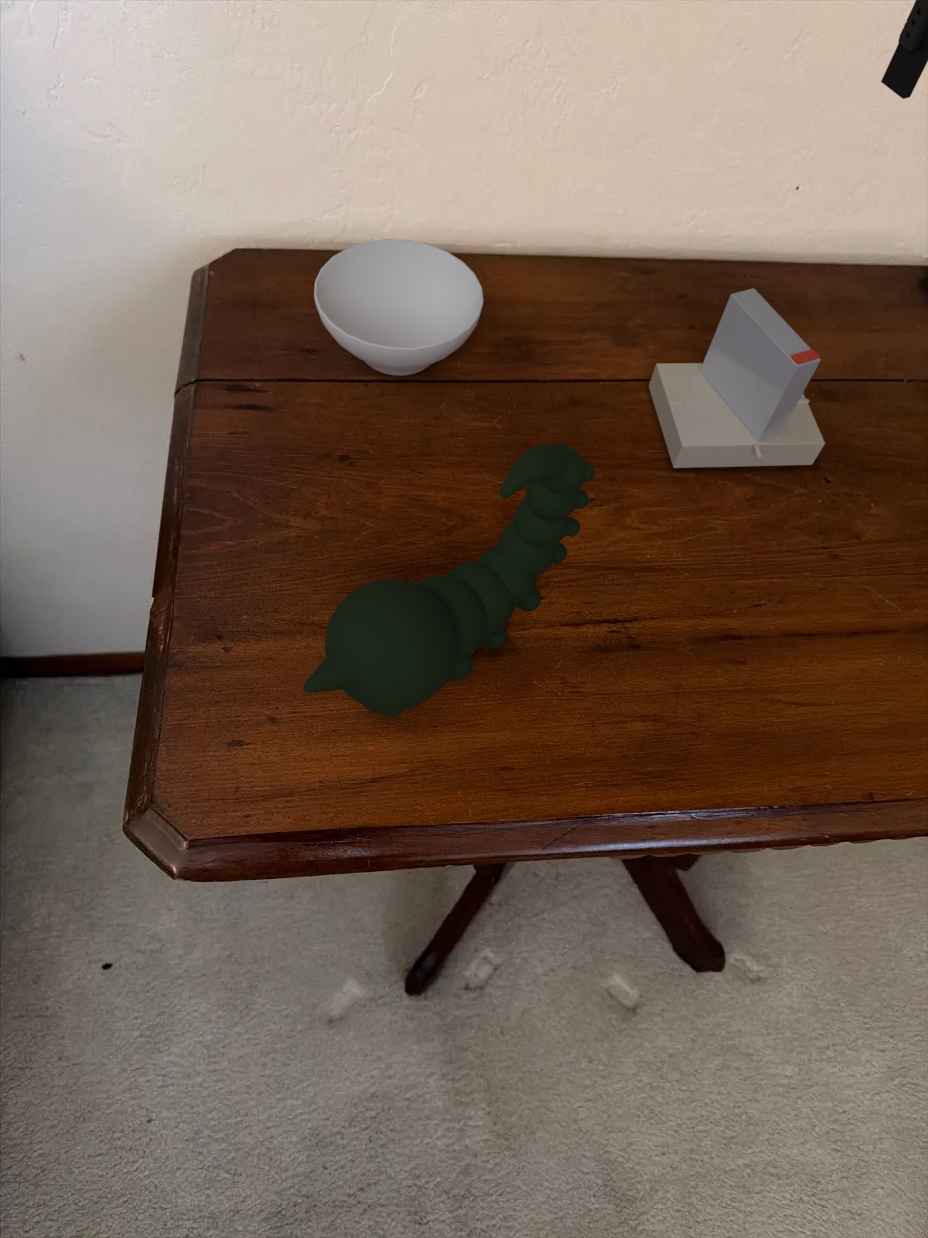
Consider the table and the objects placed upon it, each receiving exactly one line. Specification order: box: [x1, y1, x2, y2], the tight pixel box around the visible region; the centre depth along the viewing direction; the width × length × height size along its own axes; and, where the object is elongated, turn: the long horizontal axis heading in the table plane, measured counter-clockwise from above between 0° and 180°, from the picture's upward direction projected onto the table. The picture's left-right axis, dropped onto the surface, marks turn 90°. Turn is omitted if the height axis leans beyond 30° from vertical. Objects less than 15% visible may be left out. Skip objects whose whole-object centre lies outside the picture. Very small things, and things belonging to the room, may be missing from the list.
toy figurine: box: [302, 442, 596, 719], centre depth 63 cm, size 9×19×25 cm
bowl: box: [313, 238, 484, 376], centre depth 86 cm, size 16×16×7 cm
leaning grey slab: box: [700, 287, 822, 441], centre depth 81 cm, size 10×3×9 cm, turn 25°
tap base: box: [648, 362, 826, 469], centre depth 86 cm, size 14×14×3 cm
